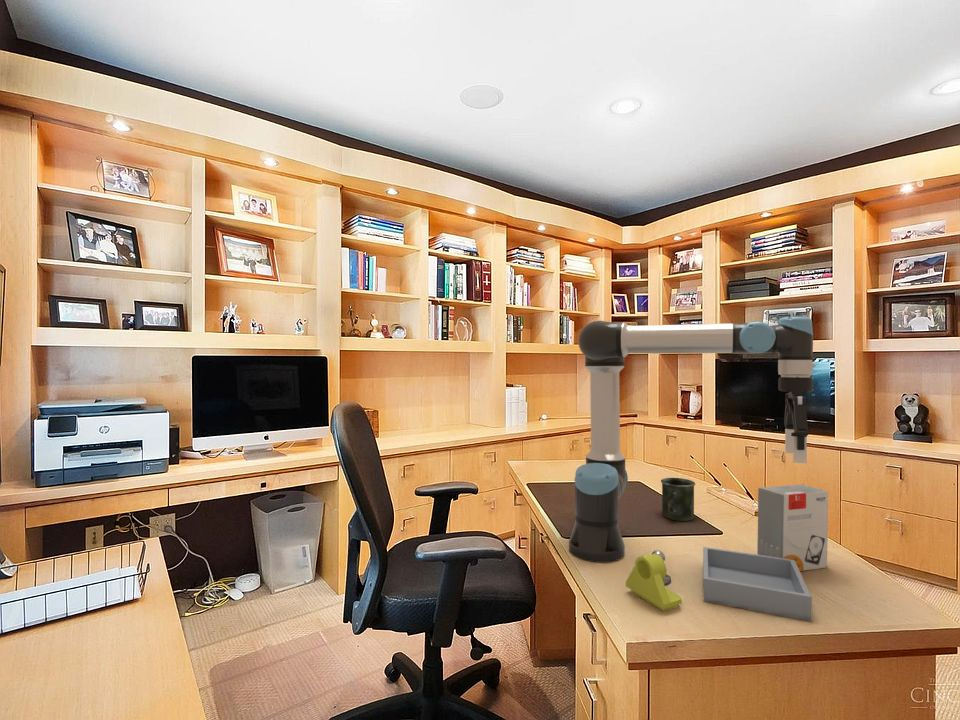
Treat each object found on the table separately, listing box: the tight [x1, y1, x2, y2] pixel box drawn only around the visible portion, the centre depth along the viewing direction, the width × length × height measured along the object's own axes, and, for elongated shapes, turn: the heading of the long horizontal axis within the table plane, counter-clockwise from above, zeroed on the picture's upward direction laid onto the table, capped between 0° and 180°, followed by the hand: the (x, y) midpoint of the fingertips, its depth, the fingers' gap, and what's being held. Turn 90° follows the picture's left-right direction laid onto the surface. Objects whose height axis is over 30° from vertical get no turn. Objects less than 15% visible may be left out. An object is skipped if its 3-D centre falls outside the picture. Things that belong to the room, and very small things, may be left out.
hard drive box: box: [756, 483, 829, 572], centre depth 125 cm, size 16×8×20 cm, turn 106°
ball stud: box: [651, 549, 672, 586], centre depth 117 cm, size 6×6×7 cm
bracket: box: [625, 553, 683, 612], centre depth 107 cm, size 11×6×10 cm, turn 25°
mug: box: [660, 477, 696, 522], centre depth 163 cm, size 11×15×12 cm
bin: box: [702, 546, 813, 622], centre depth 112 cm, size 20×20×5 cm
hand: (795, 457), depth 126 cm, fingers open, 13 cm apart
